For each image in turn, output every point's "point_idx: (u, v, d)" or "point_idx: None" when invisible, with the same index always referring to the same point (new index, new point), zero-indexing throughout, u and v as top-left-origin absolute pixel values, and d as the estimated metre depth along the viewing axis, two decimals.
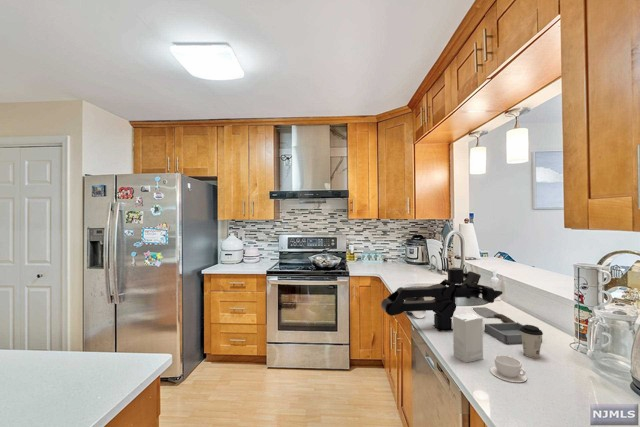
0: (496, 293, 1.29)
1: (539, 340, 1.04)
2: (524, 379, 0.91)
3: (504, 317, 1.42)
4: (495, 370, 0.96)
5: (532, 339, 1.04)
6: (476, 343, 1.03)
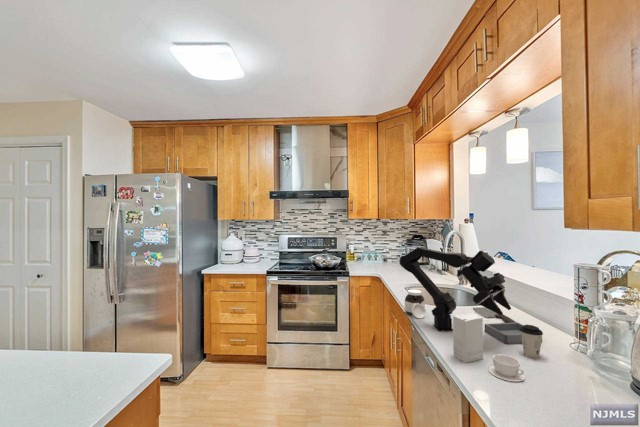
0: (493, 306, 1.12)
1: (539, 340, 1.04)
2: (522, 378, 0.91)
3: (505, 317, 1.42)
4: (493, 369, 0.96)
5: (532, 339, 1.04)
6: (476, 343, 1.03)
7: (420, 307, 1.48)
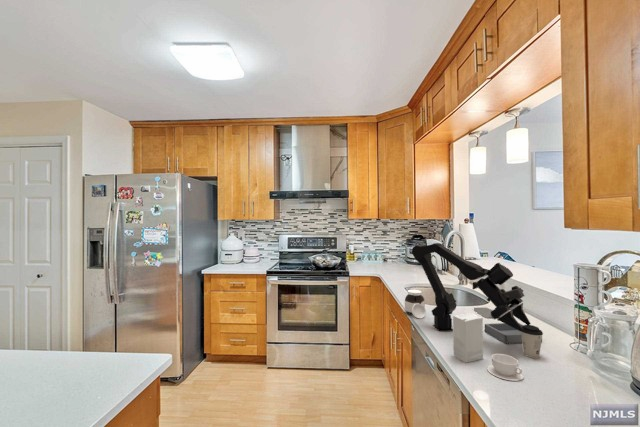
0: (512, 322, 1.07)
1: (539, 340, 1.04)
2: (521, 377, 0.91)
3: None
4: (492, 368, 0.97)
5: (532, 339, 1.04)
6: (476, 343, 1.03)
7: (420, 307, 1.48)
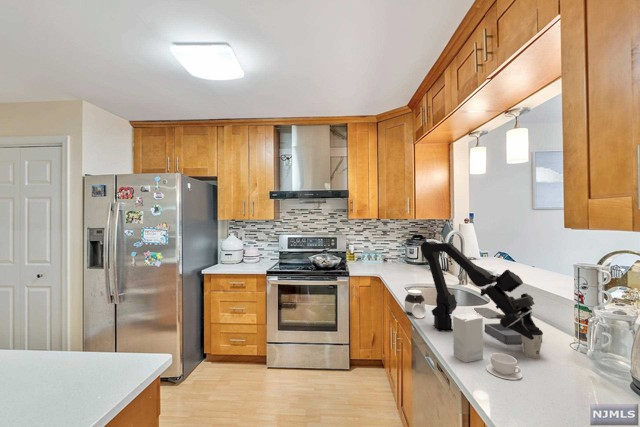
0: (523, 330, 1.05)
1: (539, 340, 1.04)
2: (519, 377, 0.92)
3: None
4: (491, 368, 0.98)
5: None
6: (476, 343, 1.03)
7: (420, 307, 1.48)
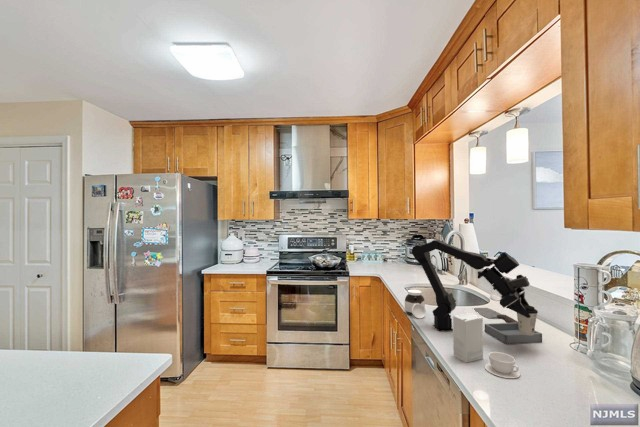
0: (520, 309, 1.09)
1: (535, 318, 1.09)
2: (517, 375, 0.93)
3: (507, 318, 1.41)
4: (489, 366, 0.98)
5: (529, 318, 1.09)
6: (476, 343, 1.03)
7: (420, 307, 1.48)
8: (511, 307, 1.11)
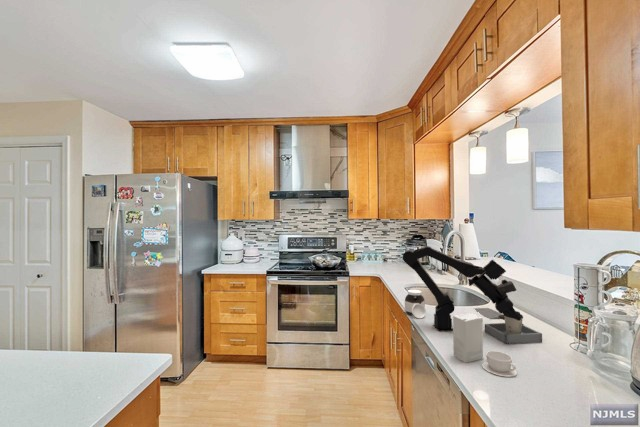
0: (513, 313, 1.17)
1: (521, 322, 1.20)
2: (514, 374, 0.94)
3: None
4: (487, 365, 0.99)
5: (517, 323, 1.19)
6: (476, 343, 1.03)
7: (420, 307, 1.48)
8: (504, 312, 1.18)
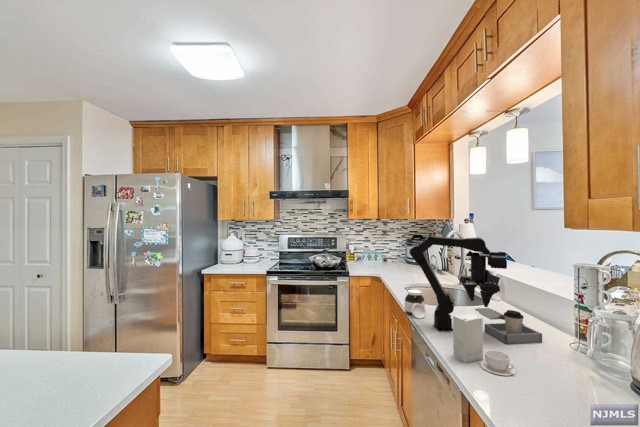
0: (487, 299, 1.20)
1: None
2: (512, 372, 0.94)
3: None
4: (485, 364, 1.00)
5: (518, 323, 1.19)
6: (476, 343, 1.03)
7: (420, 307, 1.48)
8: (484, 294, 1.19)
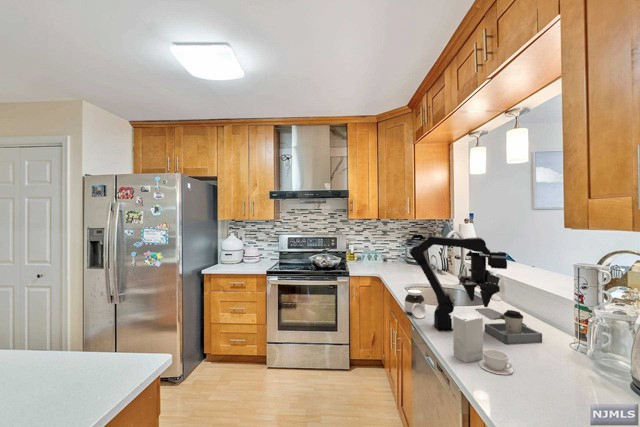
0: (487, 299, 1.20)
1: (521, 322, 1.20)
2: (510, 371, 0.95)
3: None
4: (483, 363, 1.00)
5: (518, 322, 1.19)
6: (476, 343, 1.03)
7: (420, 307, 1.48)
8: (484, 294, 1.19)
